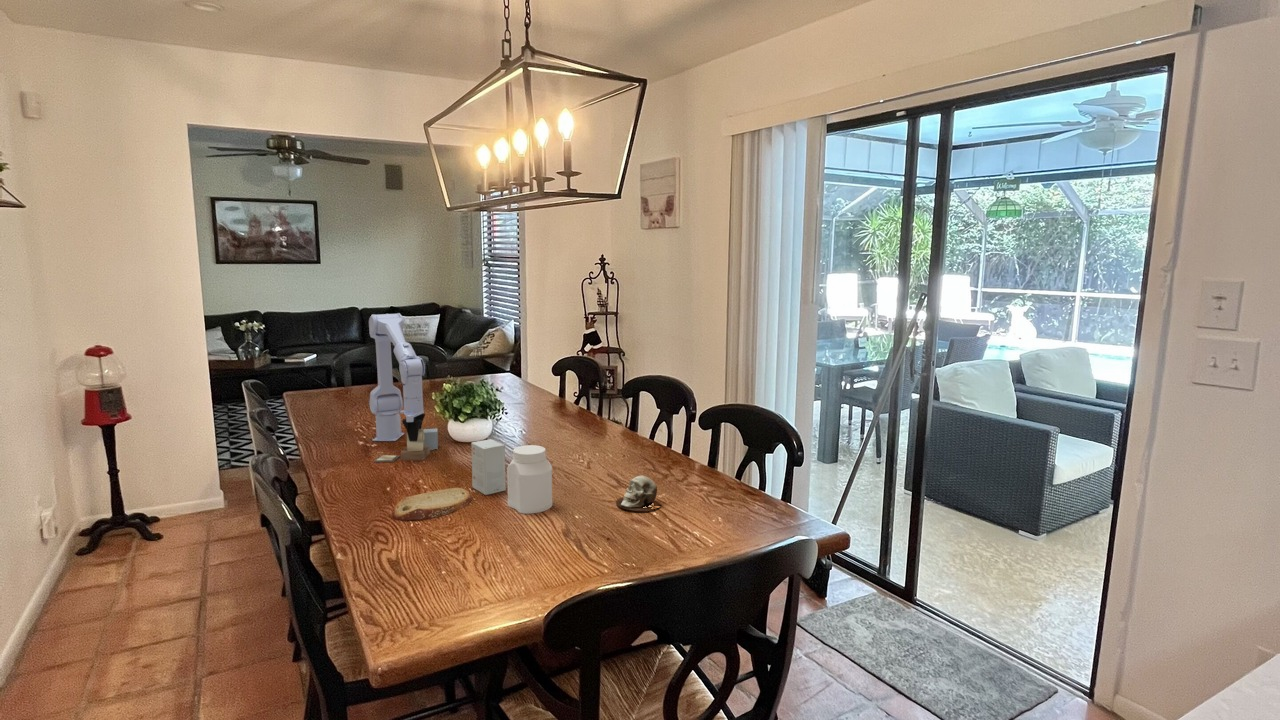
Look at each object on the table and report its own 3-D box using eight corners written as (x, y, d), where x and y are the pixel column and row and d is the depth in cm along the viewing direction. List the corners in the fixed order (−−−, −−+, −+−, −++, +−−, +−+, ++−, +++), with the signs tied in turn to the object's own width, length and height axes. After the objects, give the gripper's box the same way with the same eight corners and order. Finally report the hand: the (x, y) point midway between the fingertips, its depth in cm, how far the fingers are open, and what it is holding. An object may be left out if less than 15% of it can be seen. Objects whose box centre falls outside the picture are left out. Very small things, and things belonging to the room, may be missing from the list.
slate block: (423, 446, 227) (423, 429, 226) (437, 445, 228) (437, 428, 227) (423, 450, 223) (422, 432, 222) (437, 449, 224) (437, 431, 223)
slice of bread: (474, 495, 184) (473, 482, 183) (463, 521, 166) (462, 506, 166) (406, 496, 182) (405, 483, 182) (387, 522, 165) (387, 508, 164)
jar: (502, 503, 177) (501, 447, 175) (534, 495, 183) (533, 441, 181) (525, 516, 169) (524, 458, 166) (557, 507, 175) (557, 451, 172)
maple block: (410, 447, 217) (409, 429, 216) (424, 446, 218) (423, 428, 217) (407, 451, 213) (406, 432, 212) (422, 450, 213) (421, 432, 212)
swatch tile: (380, 456, 215) (380, 454, 215) (399, 456, 215) (399, 454, 215) (373, 462, 209) (373, 460, 209) (393, 462, 210) (393, 460, 209)
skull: (635, 514, 169) (619, 477, 173) (619, 530, 176) (603, 494, 180) (673, 503, 175) (657, 468, 180) (655, 518, 183) (640, 484, 187)
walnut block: (408, 454, 219) (407, 445, 219) (429, 455, 219) (429, 446, 219) (401, 461, 212) (400, 452, 212) (423, 461, 212) (423, 452, 212)
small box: (506, 490, 187) (505, 444, 184) (485, 495, 183) (484, 449, 180) (492, 482, 193) (491, 438, 191) (471, 487, 189) (470, 442, 187)
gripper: (404, 392, 219) (406, 433, 221) (395, 402, 205) (397, 445, 207) (426, 391, 220) (428, 432, 222) (419, 401, 206) (421, 445, 208)
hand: (414, 438), depth 215 cm, fingers open, 5 cm apart
